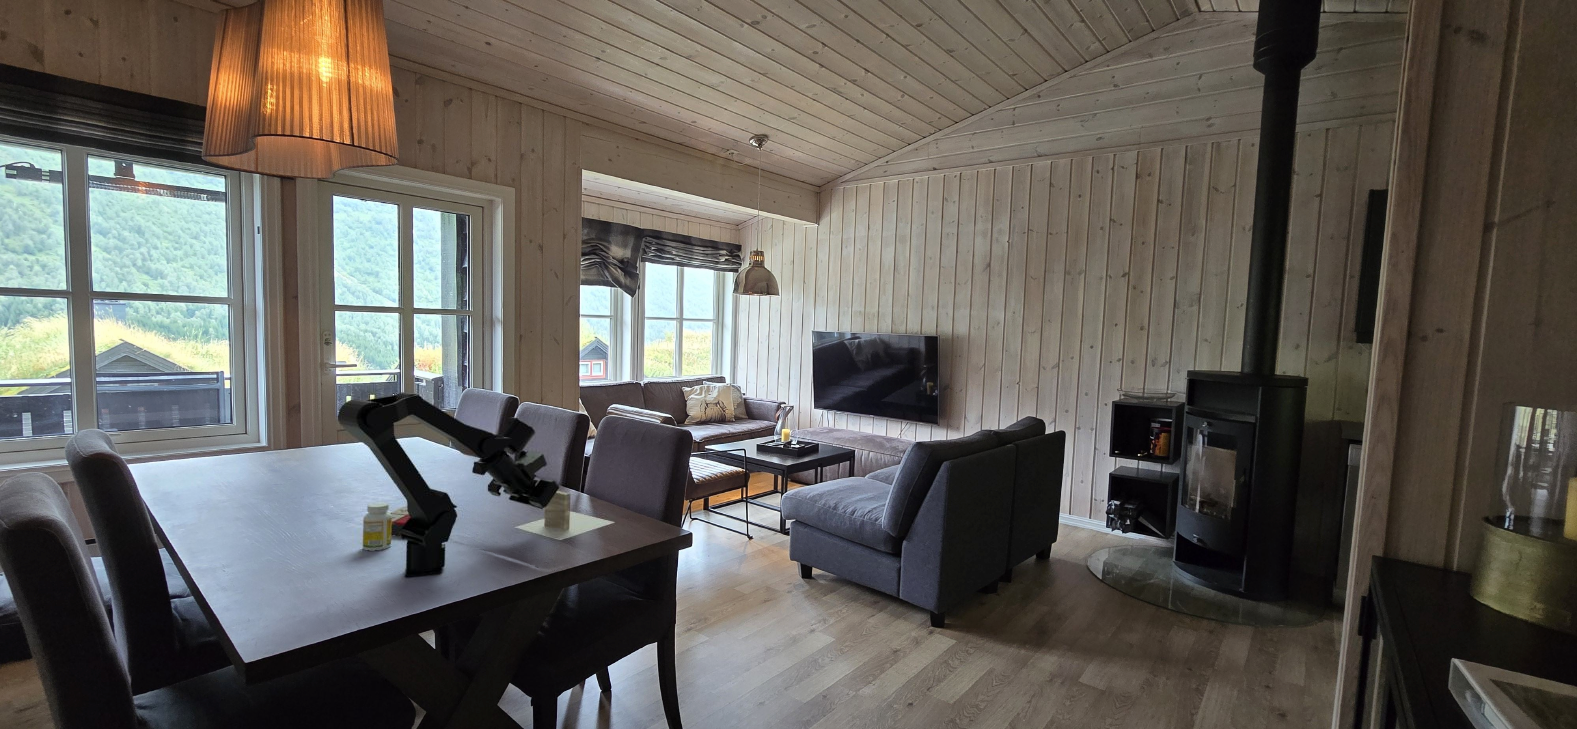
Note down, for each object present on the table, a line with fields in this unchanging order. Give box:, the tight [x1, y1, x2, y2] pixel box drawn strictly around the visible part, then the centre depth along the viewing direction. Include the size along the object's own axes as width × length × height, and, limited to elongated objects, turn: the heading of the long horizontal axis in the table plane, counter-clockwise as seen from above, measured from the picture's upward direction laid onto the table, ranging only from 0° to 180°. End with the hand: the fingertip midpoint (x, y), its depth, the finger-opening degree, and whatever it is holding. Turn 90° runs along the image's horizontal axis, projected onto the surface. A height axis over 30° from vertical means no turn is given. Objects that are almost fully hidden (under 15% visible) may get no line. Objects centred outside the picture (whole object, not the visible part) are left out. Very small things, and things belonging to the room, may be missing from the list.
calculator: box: [390, 505, 427, 537], centre depth 162 cm, size 11×4×15 cm
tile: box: [544, 490, 571, 531], centre depth 164 cm, size 2×7×9 cm, turn 61°
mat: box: [514, 510, 615, 541], centre depth 167 cm, size 18×16×1 cm
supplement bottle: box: [362, 501, 392, 552], centre depth 146 cm, size 5×5×10 cm
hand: (542, 507), depth 160 cm, fingers closed
